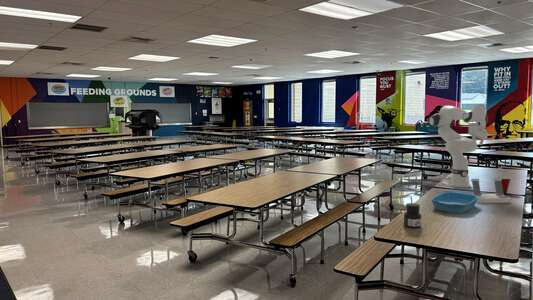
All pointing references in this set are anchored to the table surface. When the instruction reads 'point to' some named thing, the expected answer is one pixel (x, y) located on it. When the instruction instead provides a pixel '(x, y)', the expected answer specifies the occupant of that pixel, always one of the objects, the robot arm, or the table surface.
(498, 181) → the lever
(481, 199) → the switch panel
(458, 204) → the casserole dish
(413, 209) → the ink bottle
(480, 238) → the table surface
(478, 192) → the lever
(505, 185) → the plastic cup
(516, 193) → the table surface
